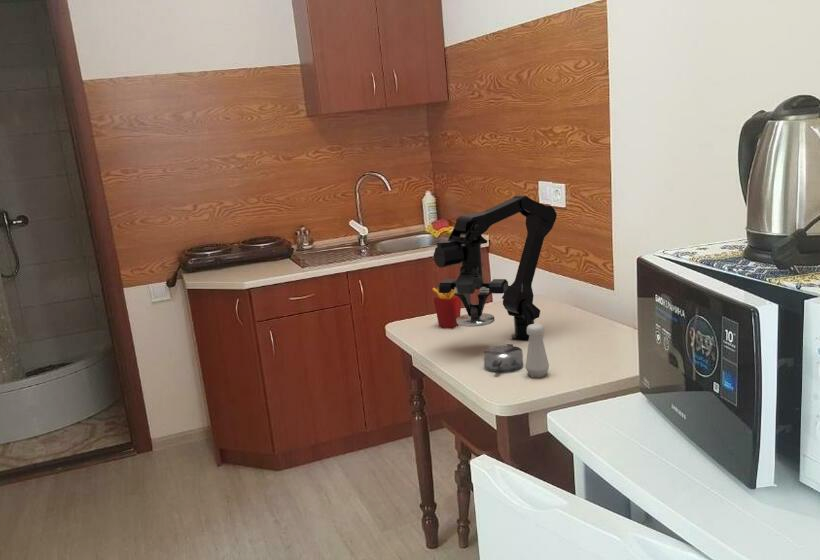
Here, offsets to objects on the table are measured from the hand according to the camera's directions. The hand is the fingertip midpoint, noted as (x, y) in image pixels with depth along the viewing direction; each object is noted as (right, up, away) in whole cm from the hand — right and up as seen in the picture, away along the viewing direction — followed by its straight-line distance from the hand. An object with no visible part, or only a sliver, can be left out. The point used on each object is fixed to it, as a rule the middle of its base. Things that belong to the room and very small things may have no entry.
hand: (475, 315), depth 201 cm
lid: (0, -1, 0) cm, 2 cm away
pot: (+6, -13, -13) cm, 19 cm away
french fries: (-4, -5, +28) cm, 28 cm away
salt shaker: (+14, -14, -21) cm, 28 cm away
